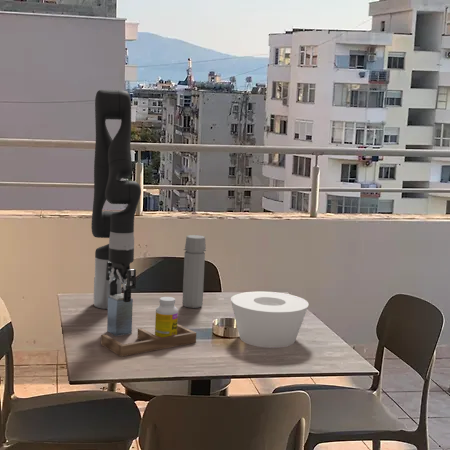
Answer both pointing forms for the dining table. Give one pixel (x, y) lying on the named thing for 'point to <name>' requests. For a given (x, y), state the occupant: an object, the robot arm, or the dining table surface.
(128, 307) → the slate tin
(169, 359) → the dining table surface
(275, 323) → the white tapered pot
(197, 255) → the water bottle
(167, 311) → the supplement bottle
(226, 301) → the dining table surface
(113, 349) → the caddy
